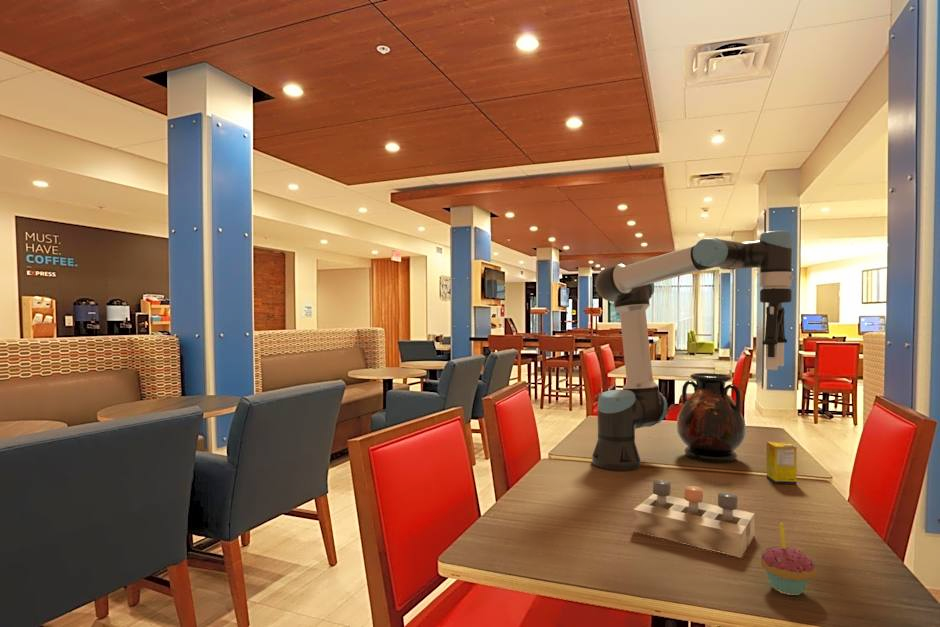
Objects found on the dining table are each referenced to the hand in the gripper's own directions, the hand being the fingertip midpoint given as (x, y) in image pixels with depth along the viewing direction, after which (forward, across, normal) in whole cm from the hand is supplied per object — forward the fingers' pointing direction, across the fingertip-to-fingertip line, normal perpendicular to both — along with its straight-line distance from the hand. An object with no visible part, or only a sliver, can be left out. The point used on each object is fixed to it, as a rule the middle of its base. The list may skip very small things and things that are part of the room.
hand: (775, 367), depth 148 cm
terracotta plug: (+29, -42, +10) cm, 52 cm away
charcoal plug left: (+29, -42, +17) cm, 54 cm away
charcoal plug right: (+29, -42, +3) cm, 51 cm away
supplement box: (+34, +13, 0) cm, 37 cm away
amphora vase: (+34, +28, +23) cm, 50 cm away
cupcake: (+34, -57, -10) cm, 68 cm away
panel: (+34, -42, +10) cm, 55 cm away
